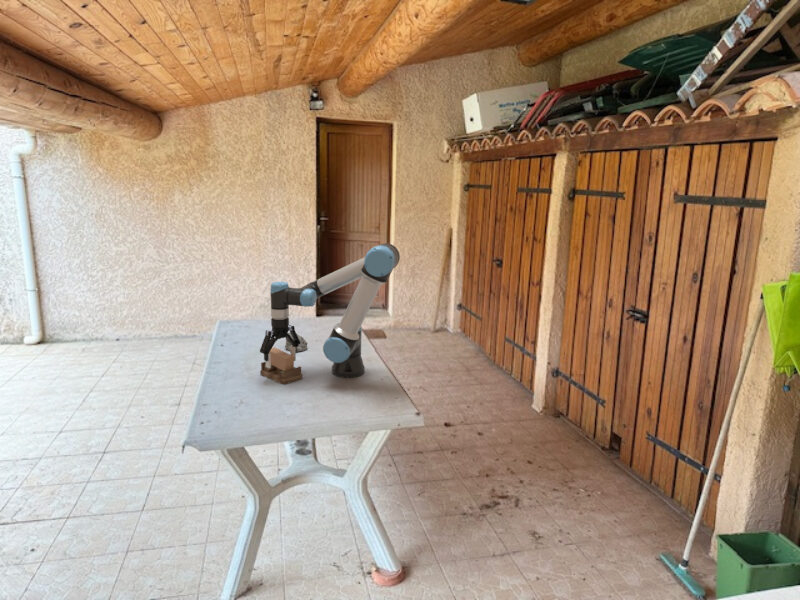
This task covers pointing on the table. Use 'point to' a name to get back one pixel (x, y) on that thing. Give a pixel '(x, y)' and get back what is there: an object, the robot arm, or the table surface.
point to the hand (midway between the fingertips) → (281, 363)
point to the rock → (301, 346)
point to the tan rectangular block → (281, 359)
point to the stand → (281, 374)
